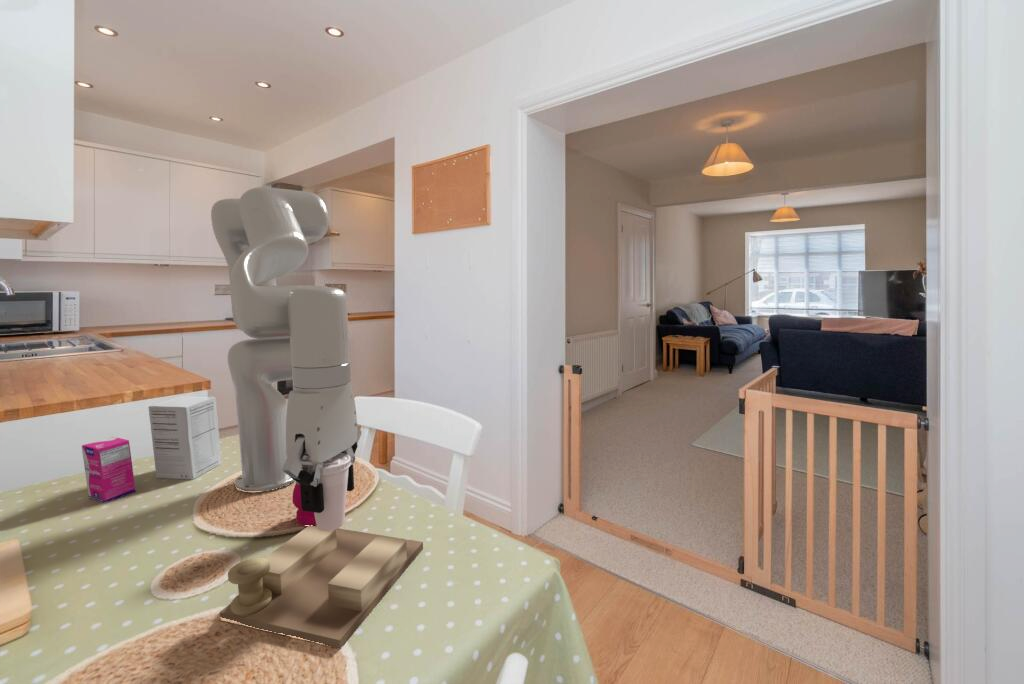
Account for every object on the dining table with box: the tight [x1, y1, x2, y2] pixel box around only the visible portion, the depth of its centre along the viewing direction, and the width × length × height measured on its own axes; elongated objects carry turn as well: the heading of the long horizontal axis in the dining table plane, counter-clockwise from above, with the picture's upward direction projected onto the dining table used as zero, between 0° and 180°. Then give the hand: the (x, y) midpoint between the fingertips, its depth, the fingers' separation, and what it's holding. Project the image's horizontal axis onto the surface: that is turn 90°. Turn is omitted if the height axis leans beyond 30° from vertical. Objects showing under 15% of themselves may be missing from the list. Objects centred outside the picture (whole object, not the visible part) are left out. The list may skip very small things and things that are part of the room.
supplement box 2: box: [147, 395, 223, 481], centre depth 108 cm, size 10×9×17 cm
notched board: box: [219, 525, 424, 650], centre depth 68 cm, size 22×18×6 cm
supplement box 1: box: [81, 436, 136, 503], centre depth 96 cm, size 6×6×12 cm
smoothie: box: [307, 453, 351, 531], centre depth 67 cm, size 6×6×14 cm
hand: (329, 498), depth 67 cm, fingers closed on smoothie, 6 cm apart
